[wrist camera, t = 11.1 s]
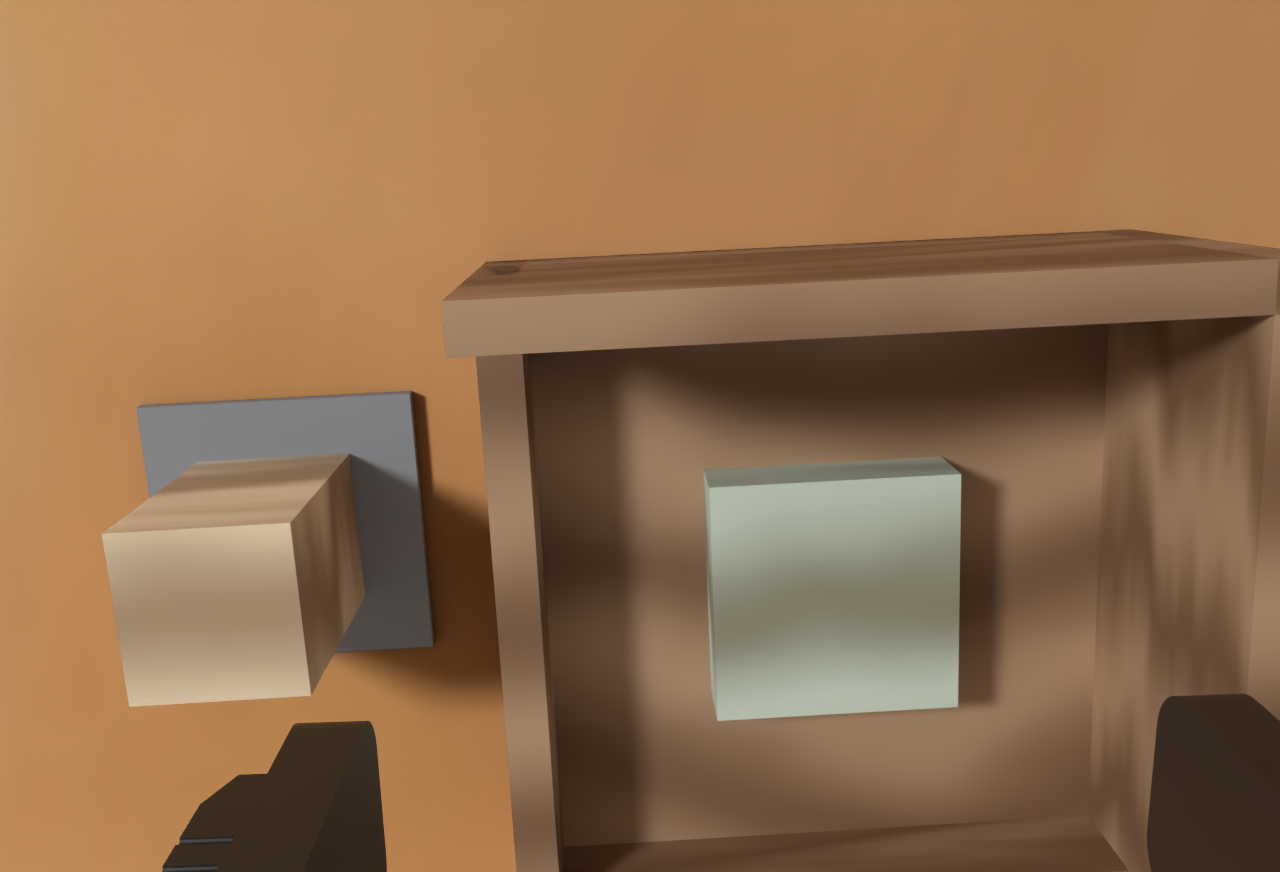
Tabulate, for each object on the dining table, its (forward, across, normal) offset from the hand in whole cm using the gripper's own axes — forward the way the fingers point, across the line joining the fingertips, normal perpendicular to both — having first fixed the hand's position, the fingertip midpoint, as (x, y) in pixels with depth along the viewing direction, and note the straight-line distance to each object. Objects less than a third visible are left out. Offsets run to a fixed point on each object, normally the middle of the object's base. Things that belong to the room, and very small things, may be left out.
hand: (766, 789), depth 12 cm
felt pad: (+24, +11, +5) cm, 27 cm away
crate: (+24, -5, +7) cm, 25 cm away
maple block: (+24, +12, +5) cm, 27 cm away
